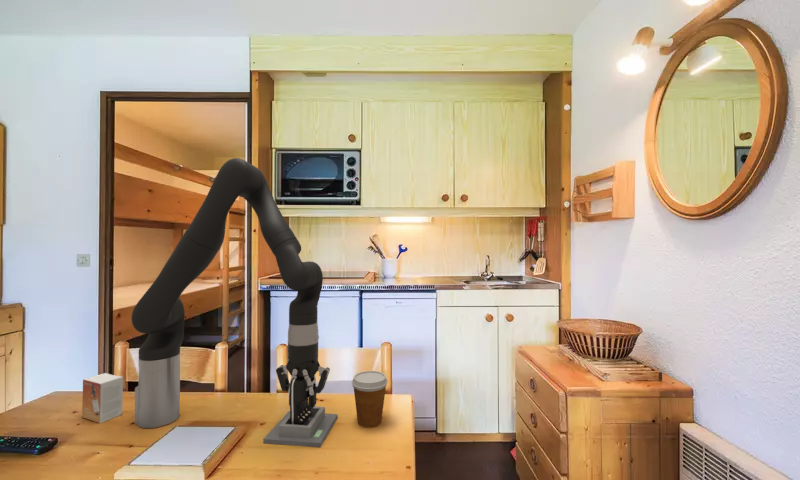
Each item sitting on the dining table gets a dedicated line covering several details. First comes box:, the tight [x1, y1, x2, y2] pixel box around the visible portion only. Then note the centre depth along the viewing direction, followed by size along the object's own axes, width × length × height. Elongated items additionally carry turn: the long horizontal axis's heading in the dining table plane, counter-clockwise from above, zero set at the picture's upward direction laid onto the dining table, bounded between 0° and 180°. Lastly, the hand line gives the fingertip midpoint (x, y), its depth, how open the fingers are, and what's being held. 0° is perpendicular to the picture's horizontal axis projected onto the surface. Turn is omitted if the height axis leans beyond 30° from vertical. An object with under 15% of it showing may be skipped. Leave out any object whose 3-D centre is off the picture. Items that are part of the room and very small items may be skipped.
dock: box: [262, 405, 339, 448], centre depth 91 cm, size 14×14×4 cm
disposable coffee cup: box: [351, 370, 388, 429], centre depth 95 cm, size 10×10×12 cm
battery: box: [289, 377, 312, 425], centre depth 91 cm, size 7×4×11 cm, turn 168°
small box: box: [81, 372, 124, 424], centre depth 98 cm, size 8×6×10 cm
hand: (302, 407), depth 91 cm, fingers closed on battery, 4 cm apart
